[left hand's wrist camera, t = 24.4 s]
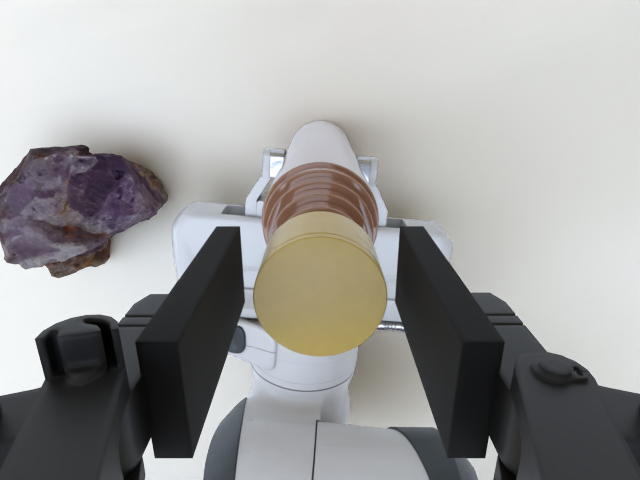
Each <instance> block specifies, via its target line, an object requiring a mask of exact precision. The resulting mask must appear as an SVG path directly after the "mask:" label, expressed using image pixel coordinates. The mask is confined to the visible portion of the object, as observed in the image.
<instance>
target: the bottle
mask: <svg viewBox="0 0 640 480" xmlns="http://www.w3.org/2000/svg"><path fill="white" fill-rule="evenodd" d="M315 211H325V212H332V213H336V214H340V215H342V216H345V217H347V218H349V219H351V220H353V221H354V222H355V223H357V224H358V225H359V226H360V227H361V228H362V229H363V230H364V231H365V232H366V233H367V234H368V236H369V238H370V239H371V241H372V243H373V245H374V243H375V240H376V237H377V232H378V225H379V212H378V206H377V202H376V199H375V197H374V194H373V192H372V190H371V188H370V186H369V184H368V181H367V179H366V177H365V175H364V173H363V171H362V169H361V166H360V164H359V162H358V160H357V158H356V156H355V153H354V151H353V149H352V147H351V145H350V143H349V141H348V138H347V137H346V135H345V133H344V132H343V131H342V130H341V129H340V128H339V127H338V126H336V125H335V124H333V123H330V122H327V121H313V122H310V123H308V124H306V125H304V126H303V127H301V128H300V129H299V130H298V131H297V132H296V134H295V135H294V137H293V139H292V141H291V143H290V146H289V148H288V150H287V152H286V154H285V156H284V158H283V161H282V163H281V165H280V167H279V169H278V171H277V174H276V176H275V178H274V180H273V182H272V184H271V187H270V189H269V191H268V193H267V195H266V198H265V200H264V203H263V208H262V216H261V219H262V229H263V235H264V239H265V242H266V245H267V244H268V242H269V240H270V238H271V236H272V235H273V234H274V232H275V231H276V230H277V229H278V228H279V227H280V226H281V225H282V224H284V223H285V222H286V221H288V220H290V219H291V218H293V217H296V216H298V215H301V214H304V213H308V212H315Z"/></svg>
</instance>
